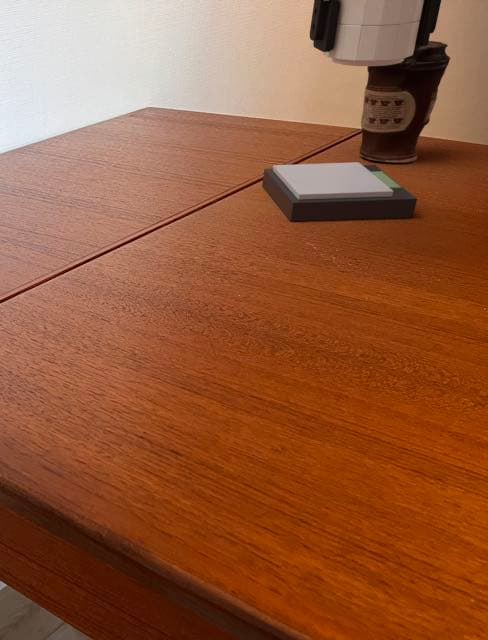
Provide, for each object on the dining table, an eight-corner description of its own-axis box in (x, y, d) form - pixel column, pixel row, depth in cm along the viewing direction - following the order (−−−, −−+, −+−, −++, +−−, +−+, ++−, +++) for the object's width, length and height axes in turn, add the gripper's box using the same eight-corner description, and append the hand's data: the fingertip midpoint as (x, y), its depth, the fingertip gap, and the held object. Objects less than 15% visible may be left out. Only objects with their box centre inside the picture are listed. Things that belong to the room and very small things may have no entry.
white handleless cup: (392, 50, 77) (406, -24, 74) (425, 64, 71) (442, -16, 68) (312, 55, 77) (322, -19, 74) (338, 69, 71) (351, -10, 68)
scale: (371, 182, 97) (376, 159, 95) (412, 217, 86) (418, 192, 85) (261, 186, 98) (265, 163, 96) (290, 221, 88) (294, 196, 86)
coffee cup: (399, 171, 99) (425, 52, 92) (334, 158, 105) (354, 45, 98) (439, 156, 103) (467, 40, 97) (374, 144, 109) (396, 34, 103)
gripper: (310, -201, 62) (277, 60, 71) (563, -222, 61) (496, 47, 70) (280, -193, 68) (254, 45, 77) (508, -212, 67) (453, 33, 76)
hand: (369, 44), depth 74 cm, fingers closed on white handleless cup, 7 cm apart
